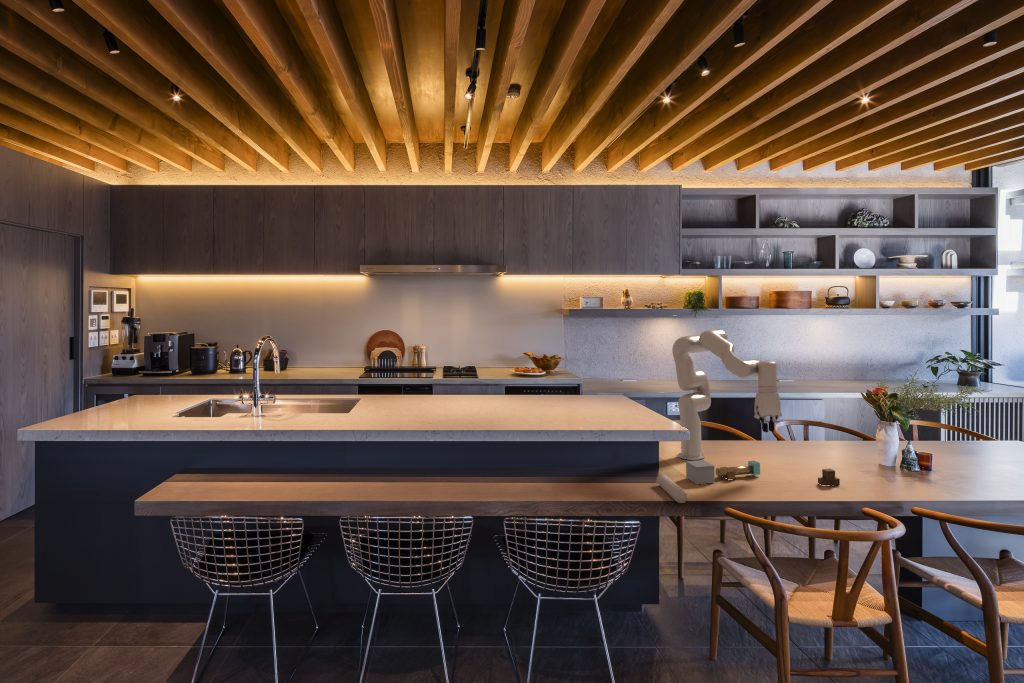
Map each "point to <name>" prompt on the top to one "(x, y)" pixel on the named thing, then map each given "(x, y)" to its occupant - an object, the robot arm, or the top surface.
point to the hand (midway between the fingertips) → (768, 431)
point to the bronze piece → (740, 469)
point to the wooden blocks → (828, 478)
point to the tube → (672, 488)
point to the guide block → (729, 474)
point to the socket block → (700, 472)
